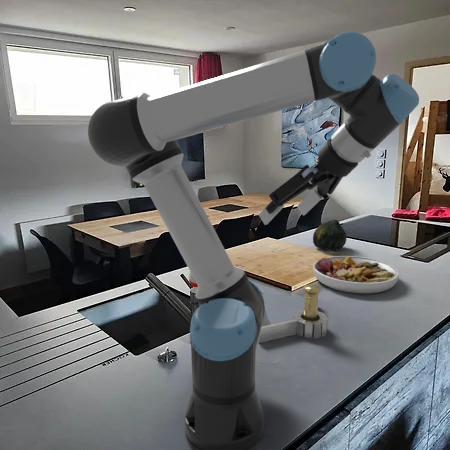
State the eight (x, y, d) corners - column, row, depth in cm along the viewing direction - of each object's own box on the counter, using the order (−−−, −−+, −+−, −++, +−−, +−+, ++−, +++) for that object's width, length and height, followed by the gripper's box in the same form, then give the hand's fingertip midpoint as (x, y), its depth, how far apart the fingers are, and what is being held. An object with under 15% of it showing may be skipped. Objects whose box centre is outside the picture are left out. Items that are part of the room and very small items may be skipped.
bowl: (384, 268, 161) (385, 249, 160) (410, 298, 132) (412, 276, 130) (308, 266, 164) (309, 248, 162) (318, 295, 135) (319, 274, 133)
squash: (305, 233, 193) (317, 215, 182) (332, 232, 198) (345, 214, 186) (314, 258, 186) (328, 241, 174) (342, 256, 190) (357, 239, 178)
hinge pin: (317, 335, 109) (319, 291, 106) (301, 332, 110) (302, 289, 107) (318, 327, 113) (320, 285, 110) (302, 325, 114) (304, 283, 111)
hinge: (324, 352, 100) (324, 338, 99) (256, 342, 105) (256, 329, 104) (329, 307, 126) (330, 295, 125) (274, 301, 131) (275, 289, 130)
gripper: (318, 169, 68) (253, 238, 82) (387, 161, 84) (323, 219, 98) (294, 137, 70) (235, 209, 85) (365, 135, 87) (306, 195, 101)
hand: (282, 215), depth 91 cm, fingers open, 13 cm apart
